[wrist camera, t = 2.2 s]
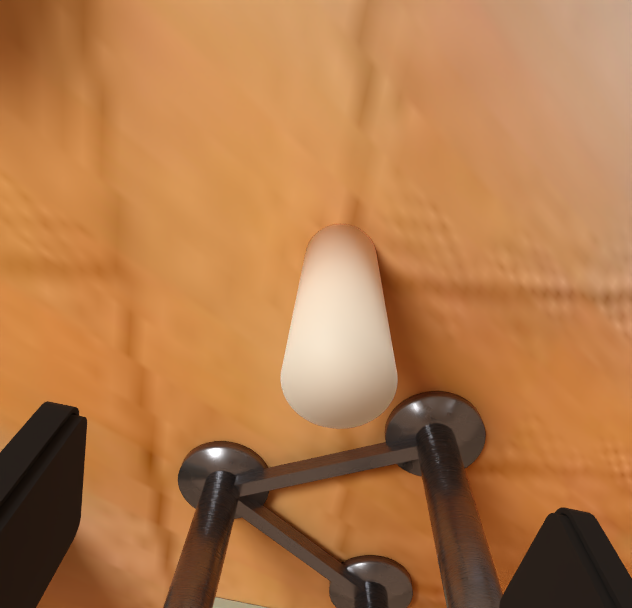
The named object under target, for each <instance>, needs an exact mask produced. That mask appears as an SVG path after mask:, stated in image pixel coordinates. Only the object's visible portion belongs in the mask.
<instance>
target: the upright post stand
mask: <svg viewBox="0 0 632 608" xmlns="http://www.w3.org/2000/svg"><path fill="white" fill-rule="evenodd" d="M385 440H386V442H385V443H380V444H376V445H371V446H366V447H362V448H357V449H353V450H348V451H343V452H339V453H334V454H330V455H325V456H321V457H316V458H311V459H307V460H302V461H298V462H293V463H289V464H284V465H279V466H275V467H270V468H268V467H267V465H266V464H265V462H264V461H263V460H262V458H261V457H260V456H259V455H257V454H256V453H255V452H254V451H252V450H251V449H249V448H247V447H245V446H243V445H240V444H237V443H233V442H227V441H214V442H209V443H205V444H202V445H200V446H198V447H196V448H194V449H193V450H192V451H190V453H189V454H188V455H187V456H186V457H185V459H184V461H183V463H182V466H181V468H180V471H179V474H178V485H179V489H180V491H181V493H182V495H183V497H184V498H185V499H186V501H187V502H188V503H189V504H190V505H191V506H193V507H194V508H195V509H196V511H195V514H194V517H193V520H192V523H191V526H190V529H189V532H188V535H187V538H186V541H185V544H184V547H183V550H182V553H181V556H180V559H179V562H178V565H177V568H176V571H175V574H174V577H173V580H172V583H171V586H170V589H169V592H168V595H167V598H166V601H165V604H164V607H163V608H213V604H214V600H215V596H216V592H217V588H218V584H219V580H220V576H221V571H222V567H223V563H224V559H225V555H226V551H227V547H228V542H229V538H230V534H231V530H232V526H233V522H234V519H236V518H241V517H242V518H244V519H245V520H246V521H248V522H249V523H251V524H252V525H253V526H255V527H256V528H258V529H259V530H260V531H262V532H263V533H264V534H266V535H267V536H269V537H270V538H271V539H273V540H274V541H276V542H277V543H278V544H280V545H281V546H282V547H284V548H285V549H287V550H288V551H289V552H291V553H292V554H294V555H295V556H296V557H298V558H299V559H300V560H302V561H303V562H305V563H306V564H307V565H309V566H310V567H312V568H313V569H314V570H316V571H317V572H318V573H320V574H321V575H323V576H324V577H325V578H327V579H328V580H330V586H329V594H330V598H331V601H332V603H333V604H334V605H335V607H336V608H407V606H408V605H409V604H410V602H411V599H412V595H413V590H412V583H411V578H410V575H409V573H408V572H407V570H406V569H405V568H404V567H403V566H401V565H400V564H399V563H397V562H395V561H393V560H391V559H389V558H386V557H382V556H374V555H365V556H358V557H354V558H351V559H348V560H346V561H344V562H343V563H340V562H339V561H337V560H336V559H335V558H333V557H332V556H331V555H329V554H328V553H327V552H325V551H324V550H323V549H321V548H320V547H319V546H317V545H316V544H315V543H313V542H312V541H310V540H309V539H308V538H306V537H305V536H304V535H302V534H301V533H300V532H298V531H297V530H296V529H294V528H293V527H292V526H290V525H289V524H288V523H286V522H285V521H283V520H282V519H281V518H279V517H278V516H277V515H275V514H274V513H273V512H271V511H270V510H269V509H267V508H266V507H265V506H263V504H264V503H265V501H266V499H267V497H268V493H269V490H274V489H278V488H283V487H288V486H293V485H297V484H302V483H307V482H312V481H316V480H321V479H326V478H331V477H335V476H340V475H345V474H350V473H354V472H359V471H364V470H369V469H373V468H378V467H383V466H388V465H392V464H397V465H398V466H399V467H401V468H402V469H404V470H406V471H407V472H409V473H412V474H415V475H418V476H422V479H423V484H424V489H425V494H426V500H427V505H428V510H429V515H430V521H431V526H432V531H433V536H434V542H435V547H436V552H437V558H438V563H439V568H440V573H441V579H442V584H443V589H444V594H445V600H446V605H447V608H499V604H500V600H501V598H502V596H503V594H502V591H501V587H500V584H499V581H498V577H497V574H496V571H495V567H494V564H493V561H492V557H491V554H490V551H489V547H488V544H487V541H486V537H485V534H484V531H483V527H482V524H481V521H480V517H479V514H478V511H477V507H476V504H475V501H474V497H473V494H472V491H471V487H470V484H469V481H468V477H467V474H466V471H465V468H466V467H468V466H469V465H470V464H472V463H473V462H474V461H475V460H476V459H477V457H478V456H479V455H480V453H481V451H482V449H483V446H484V443H485V428H484V425H483V422H482V419H481V417H480V415H479V413H478V411H477V410H476V408H475V407H474V406H473V405H472V404H471V403H470V402H469V401H467V400H466V399H464V398H462V397H460V396H458V395H456V394H452V393H449V392H442V391H431V392H424V393H420V394H417V395H414V396H412V397H409V398H408V399H406V400H404V401H403V402H401V403H400V404H399V405H398V406H397V407H396V408H395V409H394V410H393V411H392V412H391V414H390V416H389V418H388V420H387V422H386V426H385Z"/></svg>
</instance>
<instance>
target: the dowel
mask: <svg viewBox="0 0 632 608" xmlns="http://www.w3.org/2000/svg"><path fill="white" fill-rule="evenodd" d="M397 382H398V378H397V370H396V364H395V358H394V352H393V347H392V341H391V335H390V329H389V324H388V318H387V312H386V306H385V300H384V295H383V289H382V283H381V277H380V272H379V266H378V260H377V254H376V249H375V246H374V244H373V242H372V240H371V239H370V237H369V236H368V235H367V234H366V233H365V232H363V231H362V230H361V229H359V228H357V227H355V226H352V225H347V224H335V225H330V226H327V227H325V228H323V229H321V230H320V231H318V232H317V233H316V234H315V235H314V236H313V237H312V239H311V240H310V242H309V244H308V246H307V249H306V253H305V258H304V263H303V267H302V272H301V277H300V282H299V287H298V292H297V297H296V302H295V307H294V312H293V316H292V321H291V326H290V331H289V336H288V341H287V346H286V351H285V356H284V361H283V365H282V371H281V386H282V390H283V394H284V396H285V398H286V400H287V402H288V403H289V405H290V406H291V407H292V408H293V409H294V411H296V412H297V413H298V414H299V415H300V416H302V417H303V418H304V419H306V420H308V421H310V422H312V423H314V424H317V425H319V426H323V427H328V428H336V429H343V428H352V427H357V426H360V425H363V424H366V423H368V422H370V421H372V420H374V419H375V418H377V417H378V416H379V415H381V414H382V413H383V412H384V411H385V410H386V409H387V407H388V406H389V405H390V403H391V402H392V400H393V398H394V396H395V393H396V389H397Z"/></svg>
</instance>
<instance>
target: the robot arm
mask: <svg viewBox="0 0 632 608" xmlns="http://www.w3.org/2000/svg"><path fill="white" fill-rule="evenodd" d="M86 431H87V419H86V417H82V416H79V410H78V408H76V407H72V406H67V405H63V404H58V403H53V402H48V401H47V402H45V403H43V404H42V405H41V406H40V407H39V409H38V410H37V411H36V412H35V413H34V414H33V415H32V417H31V418H30V419H29V420H28V421H27V422H26V424H25V425H24V426H23V427H22V428H21V429H20V430H19V432H18V433H17V434H16V435H15V436H14V437H13V439H12V440H11V441H10V442H9V443H8V444H7V445H6V447H5V448H4V449H3V450H2V451H1V452H0V608H36V607H37V605H38V603H39V601H40V599H41V597H42V596H43V594H44V592H45V590H46V588H47V587H48V585H49V583H50V581H51V579H52V577H53V576H54V574H55V572H56V570H57V568H58V567H59V565H60V563H61V561H62V559H63V558H64V556H65V554H66V552H67V550H68V548H69V547H70V545H71V543H72V541H73V539H74V537H75V535H76V533H77V530H78V527H79V524H80V518H81V505H82V490H83V476H84V461H85V446H86ZM499 608H632V578H631V577H630V575H629V573H628V572H627V570H626V568H625V566H624V565H623V563H622V561H621V560H620V558H619V556H618V555H617V553H616V551H615V550H614V548H613V546H612V545H611V543H610V541H609V539H608V538H607V536H606V534H605V533H604V531H603V529H602V528H601V526H600V524H599V523H598V521H597V519H596V518H595V517H594V516H593V515H592V514H590V513H588V512H583V511H578V510H573V509H568V508H559V509H558V510H557V511H556V512H555V513H551V514H549V515H548V516H547V518H546V519H545V521H544V523H543V525H542V526H541V528H540V530H539V532H538V534H537V535H536V537H535V539H534V541H533V542H532V544H531V546H530V548H529V550H528V551H527V553H526V555H525V557H524V558H523V560H522V562H521V564H520V566H519V567H518V569H517V571H516V573H515V574H514V576H513V578H512V580H511V582H510V583H509V585H508V587H507V589H506V590H505V592H504V594H503V596H502V598H501V600H500V604H499Z"/></svg>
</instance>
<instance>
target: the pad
mask: <svg viewBox="0 0 632 608" xmlns="http://www.w3.org/2000/svg"><path fill="white" fill-rule="evenodd" d="M213 608H266V607H262V606H257V605H252V604H247V603H242V602H237V601H232V600H227V599H222V598H217V597H215V600H214V604H213Z"/></svg>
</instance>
